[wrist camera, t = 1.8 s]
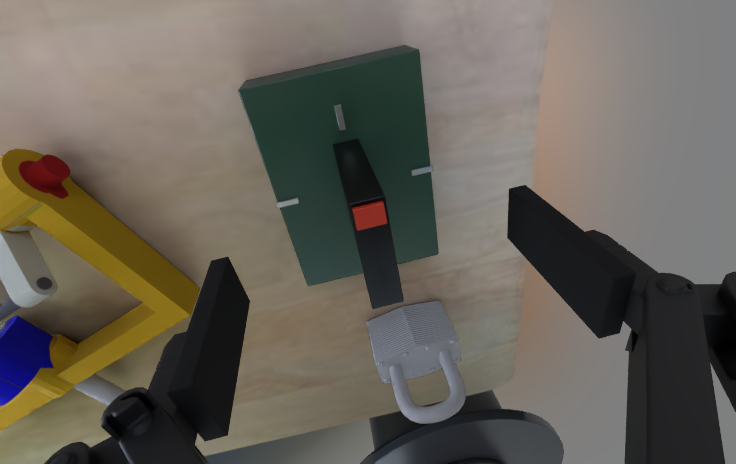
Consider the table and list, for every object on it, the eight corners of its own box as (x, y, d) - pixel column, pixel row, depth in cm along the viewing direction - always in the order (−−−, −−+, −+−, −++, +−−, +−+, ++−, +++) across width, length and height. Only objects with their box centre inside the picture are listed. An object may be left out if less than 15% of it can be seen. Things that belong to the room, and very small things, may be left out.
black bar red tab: (375, 222, 25) (405, 305, 18) (352, 228, 25) (373, 313, 18) (358, 138, 22) (386, 197, 15) (332, 144, 22) (348, 207, 15)
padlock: (373, 344, 35) (397, 448, 27) (364, 315, 33) (386, 419, 25) (443, 324, 36) (489, 421, 27) (438, 294, 33) (486, 389, 25)
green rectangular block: (428, 233, 30) (441, 255, 27) (306, 263, 29) (306, 288, 27) (407, 44, 22) (422, 49, 20) (243, 81, 22) (235, 90, 19)
